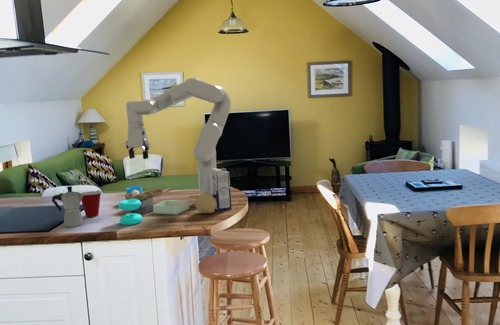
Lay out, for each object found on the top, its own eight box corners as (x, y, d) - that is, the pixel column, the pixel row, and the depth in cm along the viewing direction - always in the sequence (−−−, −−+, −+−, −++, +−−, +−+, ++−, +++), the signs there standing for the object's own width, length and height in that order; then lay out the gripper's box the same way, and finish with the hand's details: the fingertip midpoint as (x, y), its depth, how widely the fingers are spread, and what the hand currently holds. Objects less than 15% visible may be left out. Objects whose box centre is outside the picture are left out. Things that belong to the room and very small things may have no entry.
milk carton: (214, 207, 247) (211, 167, 243) (227, 206, 249) (224, 166, 246) (218, 211, 240) (215, 169, 237) (231, 209, 242) (229, 168, 239)
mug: (139, 204, 264) (137, 189, 262) (124, 204, 266) (123, 189, 264) (148, 199, 275) (147, 184, 274) (134, 199, 277) (133, 184, 276)
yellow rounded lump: (220, 210, 242) (218, 188, 240) (215, 216, 230) (213, 193, 228) (200, 210, 243) (198, 189, 242) (194, 217, 232) (192, 194, 230)
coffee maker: (90, 221, 235) (86, 183, 232) (85, 226, 226) (80, 187, 223) (58, 223, 234) (53, 185, 231) (51, 229, 226) (46, 189, 223)
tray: (189, 209, 247) (188, 201, 247) (176, 214, 237) (176, 206, 237) (166, 207, 253) (165, 200, 252) (153, 213, 243) (152, 205, 242)
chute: (173, 189, 259) (171, 181, 259) (152, 197, 243) (150, 189, 242) (149, 194, 266) (147, 187, 266) (127, 202, 250) (124, 194, 249)
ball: (142, 196, 253) (139, 188, 253) (137, 197, 250) (134, 190, 250) (135, 197, 255) (133, 190, 255) (131, 199, 252) (128, 191, 251)
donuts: (142, 201, 224) (120, 204, 220) (144, 223, 226) (122, 226, 222) (138, 197, 233) (116, 200, 230) (140, 218, 235) (118, 221, 231)
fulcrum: (159, 207, 255) (158, 196, 254) (145, 213, 244) (144, 202, 243) (146, 206, 258) (145, 196, 257) (132, 212, 247) (131, 201, 247)
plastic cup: (107, 212, 250) (105, 189, 248) (98, 218, 239) (96, 193, 237) (86, 213, 251) (84, 189, 249) (77, 219, 241) (74, 194, 239)
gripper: (153, 124, 256) (156, 157, 258) (128, 124, 265) (132, 157, 268) (142, 126, 249) (146, 160, 252) (118, 126, 259) (121, 159, 261)
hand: (138, 158), depth 260 cm, fingers open, 9 cm apart
